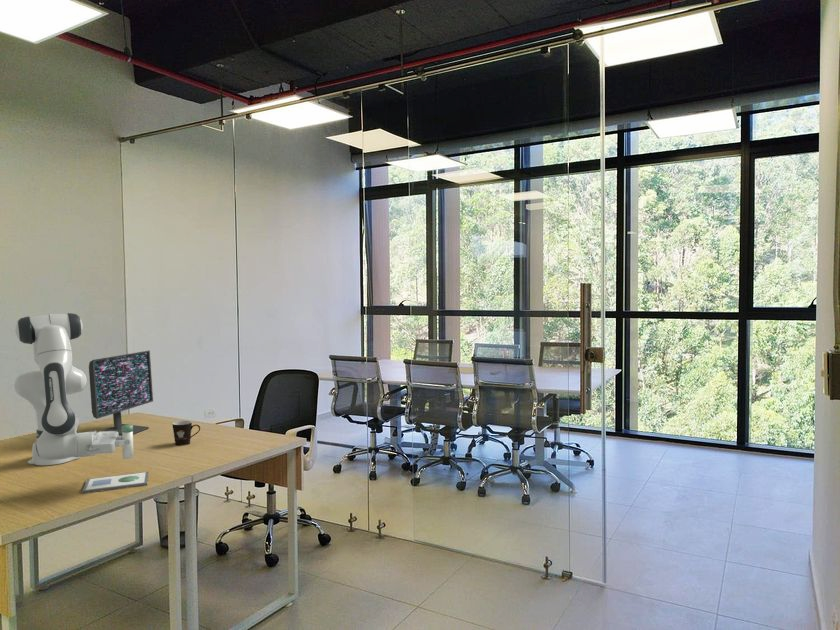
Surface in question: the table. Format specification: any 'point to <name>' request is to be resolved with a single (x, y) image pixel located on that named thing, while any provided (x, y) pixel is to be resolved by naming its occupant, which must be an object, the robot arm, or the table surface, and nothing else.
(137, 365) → the computer monitor
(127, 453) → the marker
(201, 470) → the table surface
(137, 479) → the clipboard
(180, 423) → the coffee mug
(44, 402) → the robot arm
